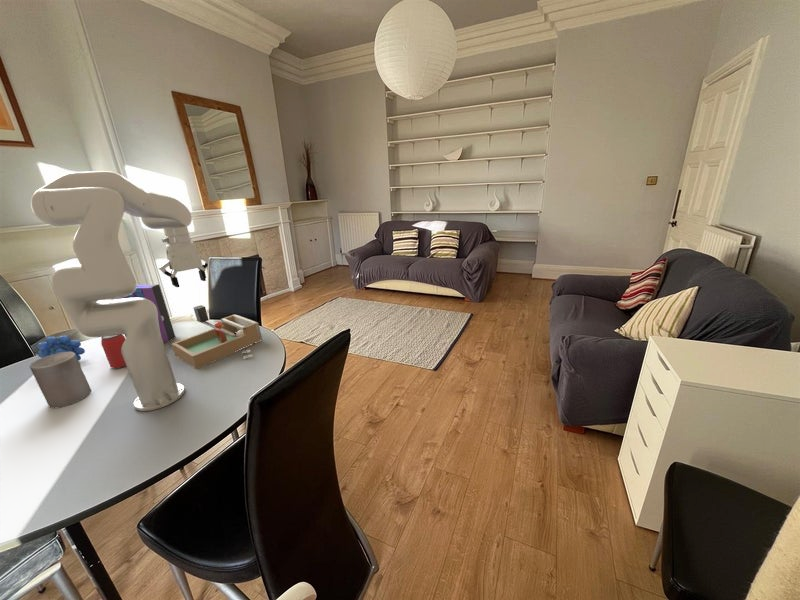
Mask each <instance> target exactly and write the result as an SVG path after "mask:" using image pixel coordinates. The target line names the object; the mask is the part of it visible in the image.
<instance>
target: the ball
mask: <svg viewBox="0 0 800 600" xmlns="http://www.w3.org/2000/svg"><path fill="white" fill-rule="evenodd" d="M242 335H244V332H243V330H239V331H238V332H237V333H236V336H235V337H239V336H242Z"/></svg>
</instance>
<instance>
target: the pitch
mask: <svg viewBox="0 0 800 600" xmlns="http://www.w3.org/2000/svg"><path fill="white" fill-rule="evenodd" d="M220 320H221V321H220V322H221V323H222V327H221V328H223V329H225V330H227V331H229V332H232V333H235V332H238V331H239V330H243V332H244V335H242V336H239V337H237V336H235V337H232V336H230V335H228V334H226V333H225V334H226V338H227V341H225V342H220V341H218V338H217V334H216V331H215V329H214V328H211V329H208V330H205V331H203V332H200V333H198V334H195V335H191V336H189V337H187V338H183V339H181V340H179V341H174V342H172V343H171V347H172V351H173V353H174V356H175V357H177V358H178V357H179V358H178V359H179V360H181V359H182V361H183V362H185V363H186V364H187V365H189V366H191V367H192V366H193V367H192V368H194V369H196V370H198V369H200V368H202V367H205V366H206V364H207V365H209V364H212V363H213V361H214V362H216V361H218V359H219V360H221V359H223V358H225V357H224V356H226V355H228V356H230V355H232V354H231V353H233V352H235V351H237V350H239V349H241V348H243V347H246V346H248V345H250V344H253V343H255V342H258V341H260V340H262V341H263V338H262V333H261V329H260V324H259V323H260V322H257V321H255V320H252V319H249V318H247V317H244V316H241V315H239V314H238V315H237V314H232V315H229V316H225V317H223V318H220ZM258 343H259V342H258ZM237 352H238V351H237ZM235 353H236V352H235ZM229 354H230V355H229ZM233 354H234V353H233ZM222 357H223V358H222ZM226 357H227V356H226ZM220 358H221V359H220ZM215 360H216V361H215ZM211 362H212V363H211ZM204 365H205V366H204Z"/></svg>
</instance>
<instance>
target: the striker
mask: <svg viewBox="0 0 800 600" xmlns="http://www.w3.org/2000/svg"><path fill="white" fill-rule="evenodd" d="M193 311H194V314H195V318H196V321H197V322H198V323H201V324H203V325H206V326H207V327H210V328H211V329H215V331H216V334H217V338H218V341H220V342H225V341H227V338H226V334H228V335H230V336H232V337H237V336H236V334H234V333H232V332H229V331H227V330H225V329H223V328H221V327H222V326H223V325H222V322H221V321H217V322H215V323H214V324H213V323H210V322H208V321H209V320H210V319H209V317H208V316H209V315H208V313H207V308H206V306H204V305H197V306H194V307H193ZM225 333H226V334H225Z"/></svg>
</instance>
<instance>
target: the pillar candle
mask: <svg viewBox="0 0 800 600" xmlns="http://www.w3.org/2000/svg"><path fill="white" fill-rule="evenodd" d="M29 369H30V371H31V373H32V374H33V377H34V379H35V381H36V383H37V385H38V387H39V390H40V391H41V393H42V396H43V397H44V398H45V399H44V400H45V401H46V403H47V405H48V407H49V406H50V407H49V408H51V407H54V408H53V409H56V408H55V407H59V408H63V406H64V407H67V406H71V405H73V404H76V403H79V402H80V401H81V400H83V399H85V398H86V397H87V395H88V396H89V395H90V394H91V393H90V392H92V389H91V387H90V385H89V382H88V380H87V377H86V375H85V374H84V372H83V369H82V366H81V364H80V361H78V360H77V357H76V355H75V353H74V352H61V353H56V354H52V355H49V356H46V357H43V358H41V357H40V358H39V359H37V360H35V361H33V362H31V364H30V365H29ZM89 393H90V394H89Z"/></svg>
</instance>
